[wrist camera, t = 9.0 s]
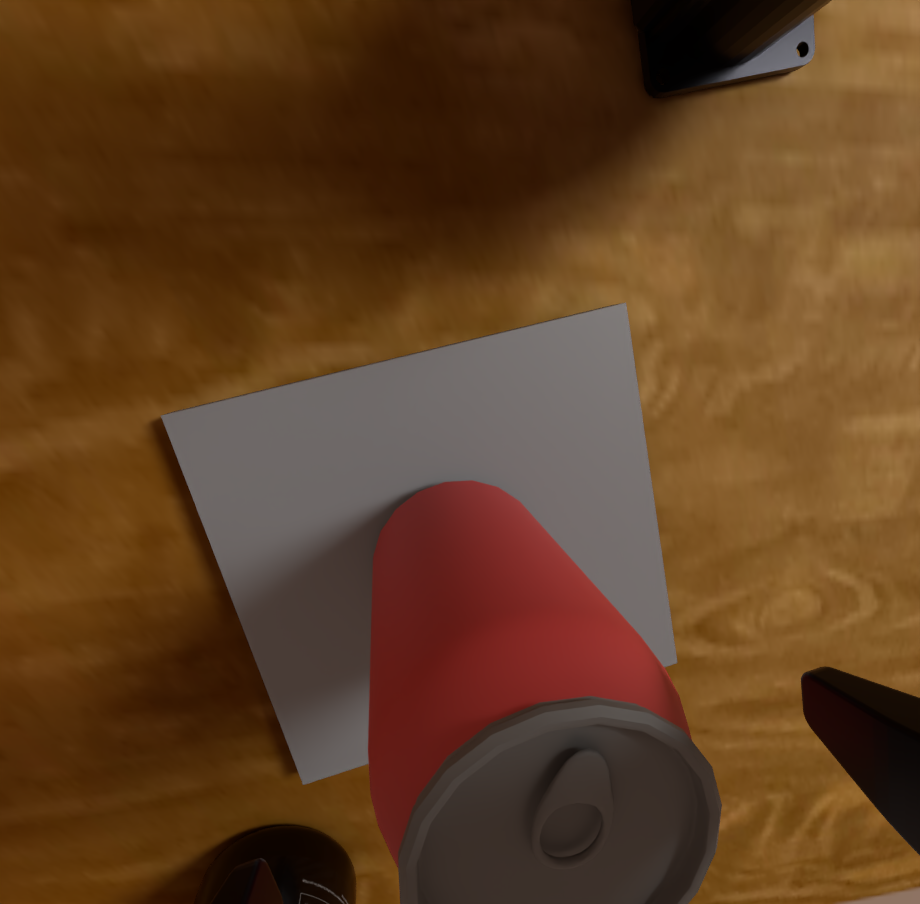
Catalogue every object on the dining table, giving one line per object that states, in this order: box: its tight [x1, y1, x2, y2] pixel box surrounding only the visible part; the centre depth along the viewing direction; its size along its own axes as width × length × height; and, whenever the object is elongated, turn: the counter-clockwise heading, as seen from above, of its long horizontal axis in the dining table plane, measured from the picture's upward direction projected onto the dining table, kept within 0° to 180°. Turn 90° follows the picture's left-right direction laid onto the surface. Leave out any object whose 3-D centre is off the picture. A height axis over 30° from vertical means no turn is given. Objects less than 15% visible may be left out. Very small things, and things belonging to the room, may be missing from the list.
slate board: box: [161, 303, 677, 785], centre depth 20 cm, size 17×16×1 cm
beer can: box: [368, 480, 722, 904], centre depth 14 cm, size 7×7×12 cm
